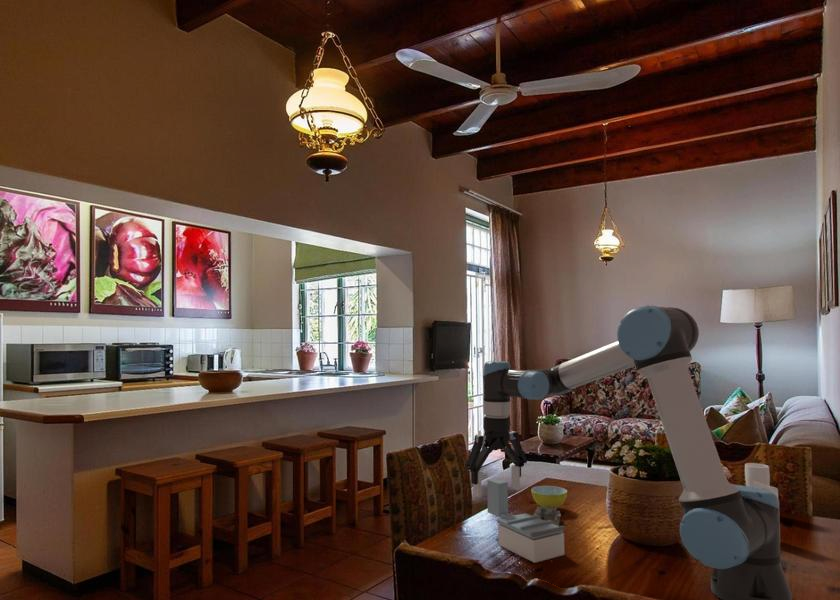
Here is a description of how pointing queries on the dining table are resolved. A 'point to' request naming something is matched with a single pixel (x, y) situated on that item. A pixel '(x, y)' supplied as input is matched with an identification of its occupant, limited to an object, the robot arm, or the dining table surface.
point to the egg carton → (548, 515)
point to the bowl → (549, 496)
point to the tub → (531, 544)
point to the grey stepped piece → (518, 523)
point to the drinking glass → (757, 474)
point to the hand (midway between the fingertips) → (496, 492)
